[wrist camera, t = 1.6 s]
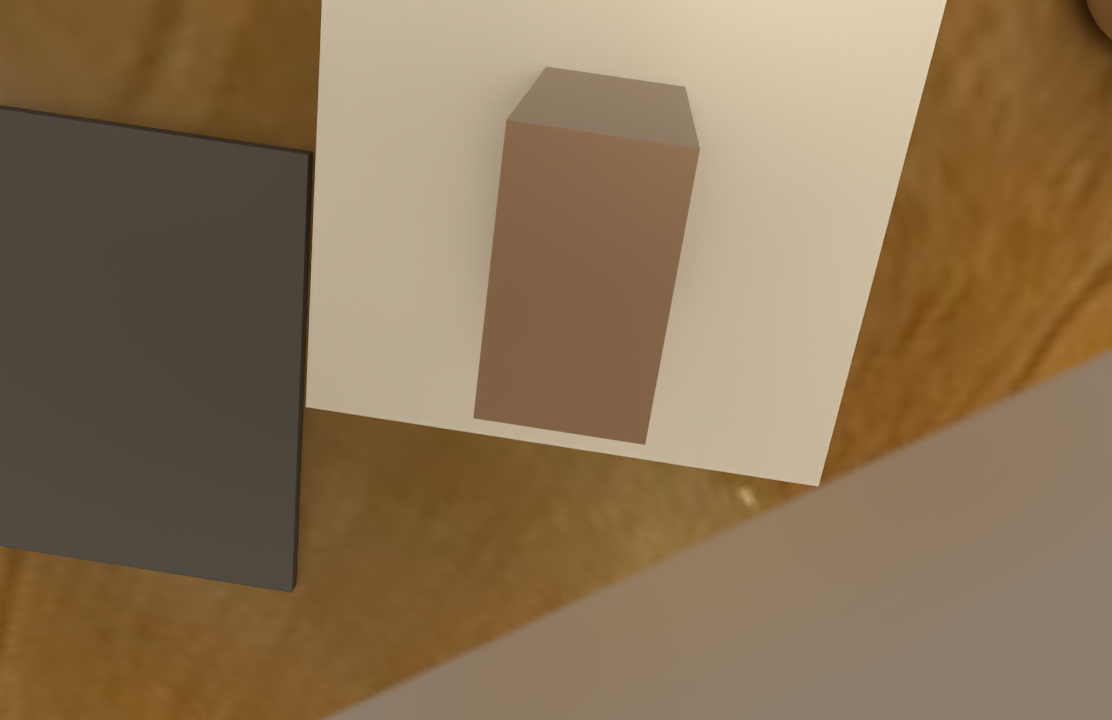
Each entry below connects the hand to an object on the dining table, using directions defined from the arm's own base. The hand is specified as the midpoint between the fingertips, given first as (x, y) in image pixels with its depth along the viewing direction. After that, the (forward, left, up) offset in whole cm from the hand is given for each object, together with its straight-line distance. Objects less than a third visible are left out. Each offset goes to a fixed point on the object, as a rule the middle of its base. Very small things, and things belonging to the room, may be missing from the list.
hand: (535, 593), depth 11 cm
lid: (0, 0, -20) cm, 20 cm away
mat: (-19, -11, -26) cm, 34 cm away
